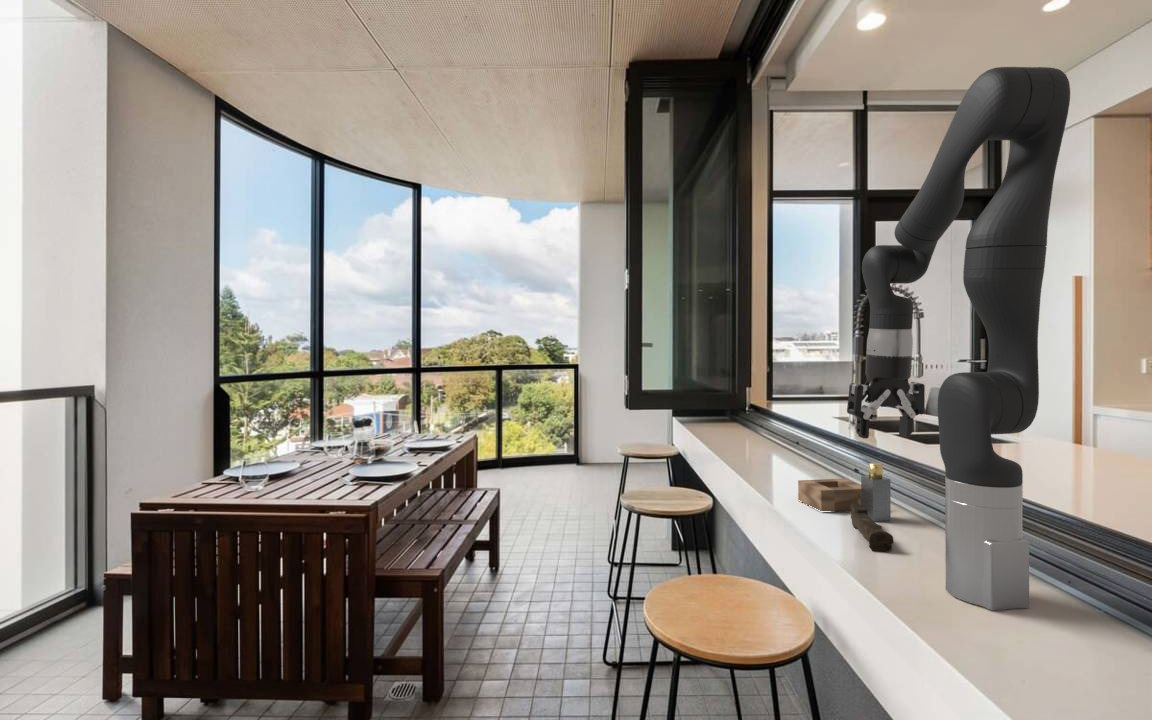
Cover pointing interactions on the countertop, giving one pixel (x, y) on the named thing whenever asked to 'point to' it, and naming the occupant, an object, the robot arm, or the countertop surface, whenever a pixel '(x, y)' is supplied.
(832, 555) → the countertop surface
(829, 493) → the housing
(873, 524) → the dark brown rod
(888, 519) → the bit
